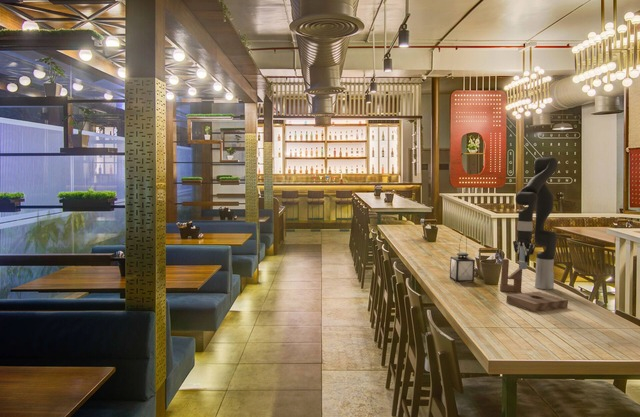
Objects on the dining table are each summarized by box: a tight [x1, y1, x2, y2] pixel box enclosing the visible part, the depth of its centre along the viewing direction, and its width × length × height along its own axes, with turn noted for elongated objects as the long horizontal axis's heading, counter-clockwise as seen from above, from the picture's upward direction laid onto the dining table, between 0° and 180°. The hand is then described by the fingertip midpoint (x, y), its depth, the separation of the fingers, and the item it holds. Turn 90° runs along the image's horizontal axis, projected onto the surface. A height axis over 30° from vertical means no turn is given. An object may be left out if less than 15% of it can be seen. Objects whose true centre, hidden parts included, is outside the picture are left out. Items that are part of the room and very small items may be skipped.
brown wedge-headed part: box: [499, 258, 523, 293], centre depth 279 cm, size 4×11×18 cm, turn 79°
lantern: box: [449, 234, 476, 283], centre depth 306 cm, size 11×11×28 cm
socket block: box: [506, 291, 569, 313], centre depth 251 cm, size 22×18×4 cm
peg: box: [518, 246, 528, 270], centre depth 266 cm, size 4×4×12 cm
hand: (523, 261), depth 267 cm, fingers closed on peg, 4 cm apart
